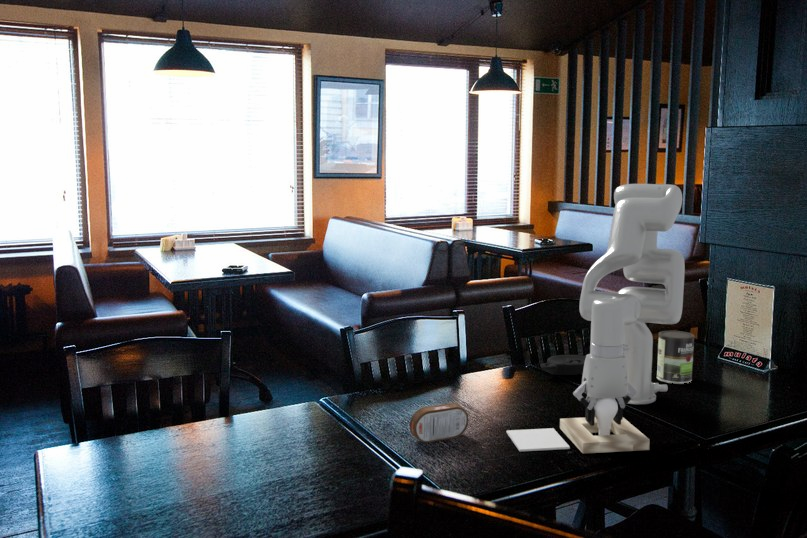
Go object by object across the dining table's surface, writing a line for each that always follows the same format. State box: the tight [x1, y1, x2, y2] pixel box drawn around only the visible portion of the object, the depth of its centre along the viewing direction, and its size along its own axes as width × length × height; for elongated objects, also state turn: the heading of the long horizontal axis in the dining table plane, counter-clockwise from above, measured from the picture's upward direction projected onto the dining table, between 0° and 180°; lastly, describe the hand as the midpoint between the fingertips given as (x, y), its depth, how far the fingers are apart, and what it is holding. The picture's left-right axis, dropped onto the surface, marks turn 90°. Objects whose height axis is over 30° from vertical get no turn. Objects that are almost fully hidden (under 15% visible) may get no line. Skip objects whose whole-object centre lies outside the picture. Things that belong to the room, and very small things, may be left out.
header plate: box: [559, 417, 650, 454], centre depth 177 cm, size 16×16×2 cm
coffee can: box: [656, 330, 695, 385], centre depth 223 cm, size 10×10×14 cm
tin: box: [409, 402, 470, 444], centre depth 177 cm, size 15×3×8 cm, turn 114°
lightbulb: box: [593, 398, 618, 435], centre depth 176 cm, size 6×6×11 cm
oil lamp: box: [539, 354, 586, 376], centre depth 230 cm, size 15×20×5 cm
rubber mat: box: [506, 427, 571, 452], centre depth 176 cm, size 12×12×1 cm
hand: (603, 422), depth 177 cm, fingers closed on lightbulb, 6 cm apart
